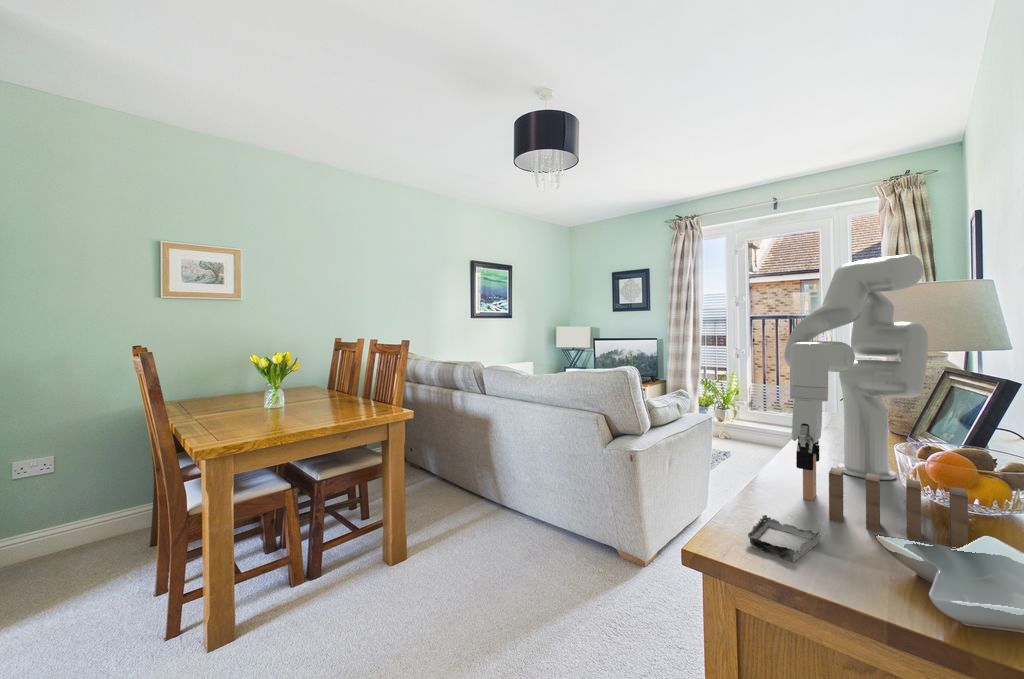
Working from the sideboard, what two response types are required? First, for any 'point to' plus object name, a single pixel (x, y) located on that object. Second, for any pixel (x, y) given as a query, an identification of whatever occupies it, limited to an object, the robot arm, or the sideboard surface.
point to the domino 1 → (809, 482)
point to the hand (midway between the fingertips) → (808, 464)
